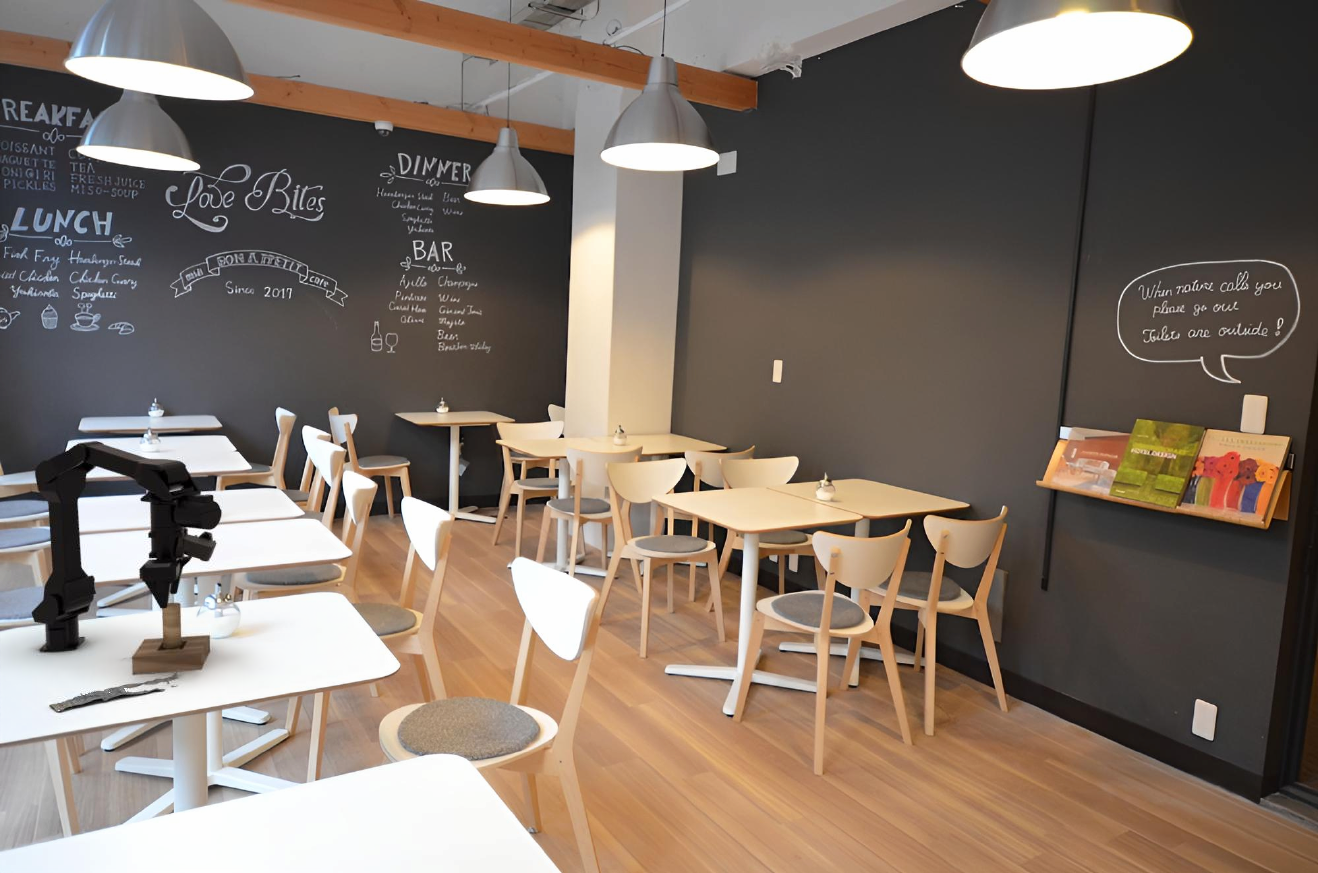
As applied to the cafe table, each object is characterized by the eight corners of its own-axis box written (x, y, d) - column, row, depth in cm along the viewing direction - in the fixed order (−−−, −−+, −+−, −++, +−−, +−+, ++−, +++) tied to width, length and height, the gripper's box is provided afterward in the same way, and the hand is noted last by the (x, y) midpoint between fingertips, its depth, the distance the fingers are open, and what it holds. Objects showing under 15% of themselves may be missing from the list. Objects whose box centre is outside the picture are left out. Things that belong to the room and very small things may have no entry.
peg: (165, 660, 174) (163, 603, 173) (183, 658, 175) (182, 602, 174) (161, 666, 171) (160, 608, 170) (180, 665, 172) (178, 607, 171)
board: (145, 655, 176) (144, 639, 176) (210, 651, 180) (209, 635, 179) (132, 674, 167) (131, 657, 166) (201, 669, 170) (201, 652, 170)
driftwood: (50, 717, 149) (50, 706, 149) (47, 703, 154) (47, 692, 154) (184, 692, 162) (184, 681, 162) (177, 679, 167) (177, 669, 167)
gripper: (204, 534, 164) (205, 613, 166) (220, 513, 181) (221, 585, 183) (137, 536, 160) (139, 617, 162) (160, 514, 178) (162, 587, 179)
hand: (169, 600), depth 172 cm, fingers open, 9 cm apart
